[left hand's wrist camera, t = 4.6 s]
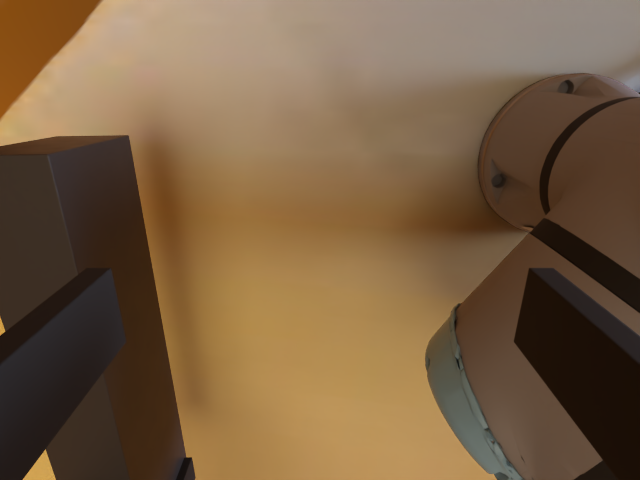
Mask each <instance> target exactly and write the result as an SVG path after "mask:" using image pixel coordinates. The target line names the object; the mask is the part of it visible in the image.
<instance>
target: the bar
mask: <svg viewBox="0 0 640 480" xmlns="http://www.w3.org/2000/svg"><path fill="white" fill-rule="evenodd" d="M86 268H111V270H112V275H113V280H114V284H115V289H116V294H117V299H118V304H119V308H120V313H121V318H122V323H123V328H124V332H125V337H126V343H125V344H124V346H123V347H122V348H121V350H120V351H119V352H118V354H117V355H116V356H115V357H114V359H113V360H112V361H111V363H110V364H109V365H108V367H107V368H106V369H105V371H104V372H103V373H102V375H101V376H100V377H99V379H98V380H97V381H96V383H95V384H94V385H93V387H92V388H91V389H90V391H89V392H88V393H87V395H86V396H85V397H84V399H83V400H82V401H81V403H80V404H79V405H78V407H77V408H76V409H75V411H74V412H73V413H72V415H71V416H70V417H69V419H68V420H67V421H66V422H65V424H64V425H63V426H62V428H61V429H60V430H59V432H58V433H57V434H56V436H55V437H54V438H53V440H52V441H51V442H50V444H49V445H48V446H47V448H46V451H47V454H48V457H49V460H50V463H51V466H52V469H53V472H54V475H55V478H56V480H176V478H177V475H178V473H179V470H180V468H181V465H182V462H183V460H184V458H186V454H185V448H184V442H183V437H182V431H181V426H180V420H179V414H178V409H177V403H176V398H175V392H174V386H173V381H172V375H171V370H170V364H169V359H168V353H167V347H166V342H165V336H164V331H163V325H162V319H161V314H160V308H159V303H158V297H157V292H156V286H155V280H154V275H153V269H152V264H151V258H150V252H149V247H148V241H147V236H146V230H145V224H144V219H143V213H142V208H141V202H140V197H139V191H138V185H137V180H136V174H135V169H134V163H133V157H132V152H131V146H130V141H129V136H128V135H124V136H58V137H51V138H45V139H39V140H34V141H28V142H22V143H16V144H11V145H5V146H0V317H1V319H2V322H3V325H4V328H5V331H7V330H8V329H9V328H11V327H12V326H13V325H15V324H16V323H17V322H18V321H20V320H21V319H22V318H23V317H25V316H26V315H27V314H29V313H30V312H31V311H32V310H34V309H35V308H36V307H37V306H39V305H40V304H41V303H43V302H44V301H45V300H46V299H48V298H49V297H50V296H51V295H53V294H54V293H55V292H57V291H58V290H59V289H60V288H62V287H63V286H64V285H66V284H67V283H68V282H69V281H71V280H72V279H73V278H74V277H76V276H77V275H78V274H80V273H81V272H82V271H83V270H85V269H86Z"/></svg>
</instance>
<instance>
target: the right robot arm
mask: <svg viewBox="0 0 640 480" xmlns="http://www.w3.org/2000/svg"><path fill="white" fill-rule="evenodd" d="M176 480H195V473H194V467H193V461H192V458H184V460H183V462H182V465H181V468H180V470H179V473H178V475H177V478H176Z"/></svg>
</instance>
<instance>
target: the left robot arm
mask: <svg viewBox="0 0 640 480" xmlns="http://www.w3.org/2000/svg"><path fill="white" fill-rule="evenodd" d="M478 175H479V181H480V186H481V189H482V192H483V194H484V197H485V199H486V200H487V202H488V204H489V205H490V206H491V208H492V209H493V210H494V211H495V212H496V213H497V214H498V215H499V216H500V217H501V218H503V219H504V220H505V221H507V222H508V223H510V224H511V225H513V226H515V227H517V228H519V229H521V230H524V231H527V232H530V233H528V235H527V236H526V237H525V238H524V239H523V240H522V241H521V242H520V243H519V244H518V245H517V246H516V247H515V248H514V249H513V250H512V252H511V253H510V254H509V255H508V256H507V257H506V258H505V259H504V260H503V261H502V262H501V263H500V264H499V265H498V266H497V267H496V268H495V269H494V270H493V271H492V272H491V273H490V275H489V276H488V277H487V278H486V279H485V280H484V281H483V282H482V283H481V284H480V285H479V286H478V287H477V288H476V289H475V290H474V291H473V292H472V293H471V294H470V295H469V296H468V298H467V299H466V300H465V301H464V302H463V303H461V304H460V303H459V304H457V305H456V306H455V307H454V308H453V310H452V311H451V315H450V317H449V318H448V319H447V321H446V322H445V323H444V324H443V325H442V326H441V328H440V329H439V330H438V331H437V332H436V333H435V335H434V336H433V337H432V338H431V340H430V341H429V344H428V346H427V349H426V354H425V362H426V363H425V366H426V370H427V377H428V382H429V385H430V388H431V390H432V393H433V395H434V398H435V400H436V402H437V404H438V406H439V408H440V410H441V412H442V414H443V416H444V418H445V419H446V421H447V423H448V424H449V426H450V427H451V429H452V431H453V432H454V434H455V435H456V437H457V438H458V439H459V441H460V442H461V444H462V445H463V446H464V448H465V449H466V450H467V451H468V453H469V454H470V455H471V456H472V457H473V459H474V460H475V461H476V462H477V463H478V464H479V465H480V466H481V467H482V468H483V469H484V470H485V471H486V472H487V473H489V474H494V475H495V477H496V478H497V480H640V93H637V92H636V91H634V90H632V89H631V88H629V87H627V86H626V85H624V84H622V83H620V82H618V81H616V80H614V79H611V78H608V77H604V76H600V75H594V74H585V73H581V74H565V75H558V76H554V77H550V78H547V79H544V80H541V81H539V82H537V83H534V84H533V85H531V86H529V87H527V88H525V89H524V90H523V91H521V92H520V93H518V94H517V95H516V96H514V97H513V98H512V99H511V100H510V101H509V102H508V103H507V104H506V105H505V106H504V107H503V108H502V109H501V110H500V111H499V113H498V114H497V115H496V117H495V118H494V120H493V121H492V123H491V125H490V126H489V128H488V130H487V132H486V134H485V137H484V139H483V142H482V145H481V149H480V154H479V161H478ZM125 343H126V337H125V332H124V328H123V323H122V318H121V313H120V308H119V304H118V299H117V294H116V289H115V284H114V280H113V275H112V270H111V268H86V269H85V270H83V271H82V272H81V273H80V274H78V275H77V276H76V277H74V278H73V279H72V280H71V281H69V282H68V283H67V284H66V285H64V286H63V287H62V288H60V289H59V290H58V291H57V292H55V293H54V294H53V295H51V296H50V297H49V298H48V299H46V300H45V301H44V302H43V303H41V304H40V305H39V306H37V307H36V308H35V309H34V310H32V311H31V312H30V313H29V314H27V315H26V316H25V317H23V318H22V319H21V320H20V321H18V322H17V323H16V324H15V325H13V326H12V327H11V328H9V329H8V330H7V331H6V332H4V333H3V334H2V335H1V336H0V480H23V478H24V477H25V476H26V474H27V473H28V472H29V470H30V469H31V468H32V466H33V465H34V464H35V462H36V461H37V460H38V458H39V457H40V456H41V454H42V453H43V452H44V450H45V449H46V448H47V446H48V445H49V444H50V442H51V441H52V440H53V438H54V437H55V436H56V434H57V433H58V432H59V430H60V429H61V428H62V426H63V425H64V424H65V422H66V421H67V420H68V419H69V417H70V416H71V415H72V413H73V412H74V411H75V409H76V408H77V407H78V405H79V404H80V403H81V401H82V400H83V399H84V397H85V396H86V395H87V393H88V392H89V391H90V389H91V388H92V387H93V385H94V384H95V383H96V381H97V380H98V379H99V377H100V376H101V375H102V373H103V372H104V371H105V369H106V368H107V367H108V365H109V364H110V363H111V361H112V360H113V359H114V357H115V356H116V355H117V354H118V352H119V351H120V350H121V348H122V347H123V346H124V344H125Z"/></svg>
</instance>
